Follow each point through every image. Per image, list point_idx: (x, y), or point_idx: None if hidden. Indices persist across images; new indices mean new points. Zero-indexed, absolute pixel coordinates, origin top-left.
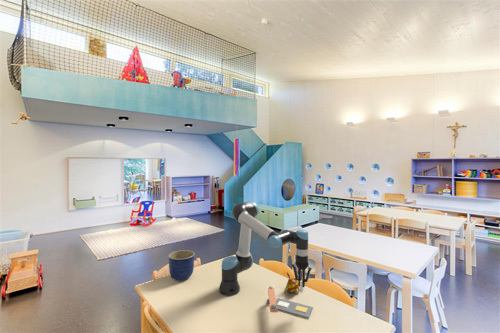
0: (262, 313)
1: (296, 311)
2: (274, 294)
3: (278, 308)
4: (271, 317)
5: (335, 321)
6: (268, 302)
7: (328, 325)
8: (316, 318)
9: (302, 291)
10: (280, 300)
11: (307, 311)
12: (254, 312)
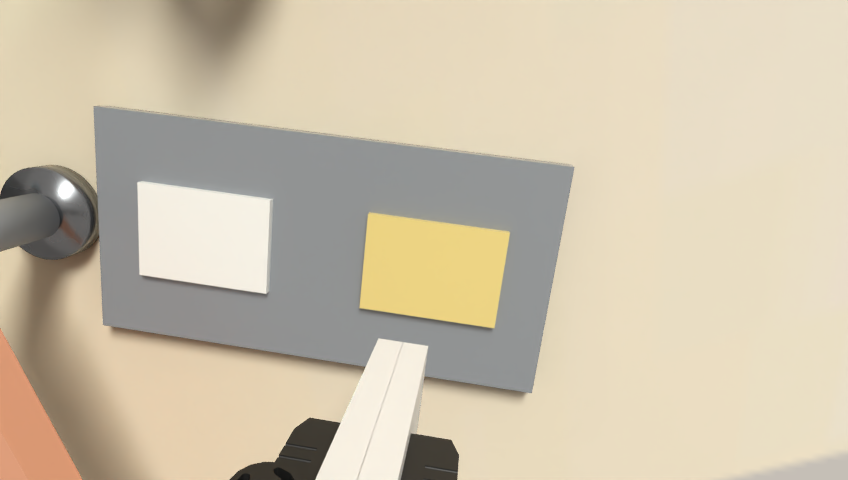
0: (74, 426)
1: (384, 329)
2: (3, 445)
3: (182, 333)
4: (173, 460)
5: (843, 341)
6: (38, 255)
7: (747, 430)
8: (617, 350)
9: (418, 416)
10: (145, 159)
11: (510, 290)
12: None
